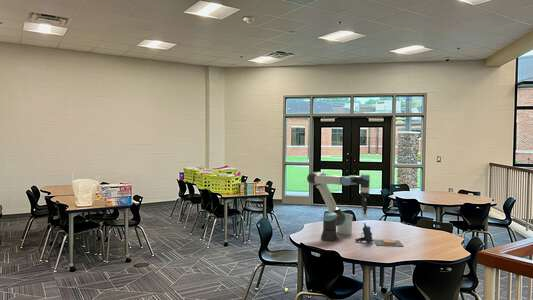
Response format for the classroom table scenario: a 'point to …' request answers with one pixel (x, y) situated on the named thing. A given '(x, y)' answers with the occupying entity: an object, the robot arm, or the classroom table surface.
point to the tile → (388, 241)
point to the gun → (366, 235)
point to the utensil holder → (346, 225)
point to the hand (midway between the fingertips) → (364, 216)
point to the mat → (380, 243)
